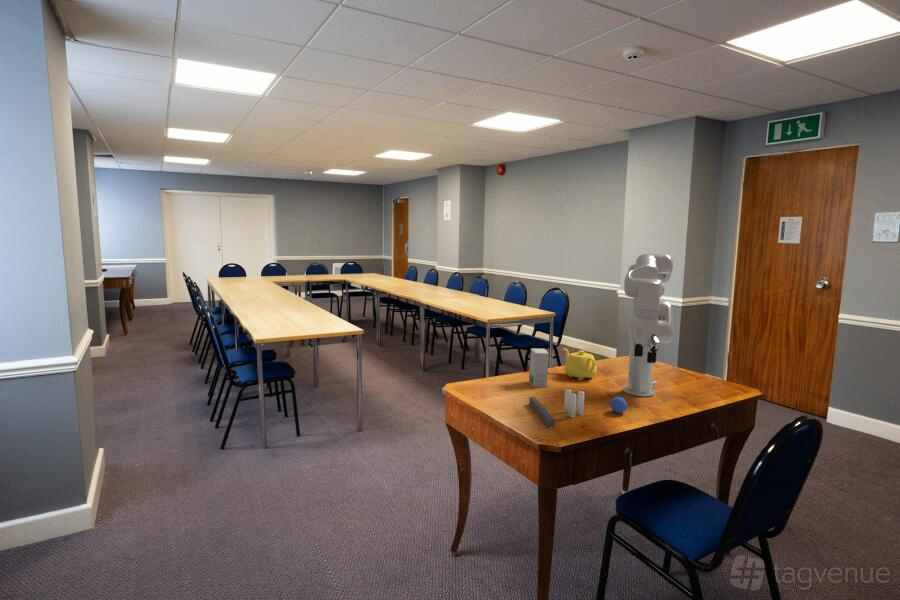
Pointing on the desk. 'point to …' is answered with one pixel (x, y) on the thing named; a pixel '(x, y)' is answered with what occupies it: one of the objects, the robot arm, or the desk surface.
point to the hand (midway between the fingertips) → (644, 359)
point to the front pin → (580, 403)
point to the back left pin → (572, 405)
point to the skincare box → (538, 367)
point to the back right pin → (567, 400)
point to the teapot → (580, 364)
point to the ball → (618, 405)
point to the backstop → (542, 412)
